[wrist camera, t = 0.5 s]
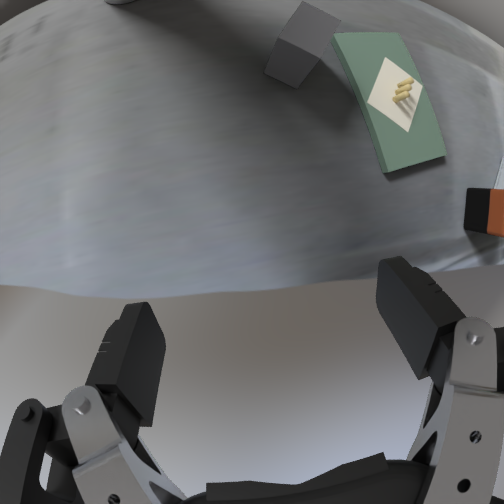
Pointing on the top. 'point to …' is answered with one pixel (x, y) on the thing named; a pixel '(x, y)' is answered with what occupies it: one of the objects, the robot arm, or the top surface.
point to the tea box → (500, 176)
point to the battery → (485, 211)
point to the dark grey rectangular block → (301, 44)
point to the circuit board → (390, 98)
